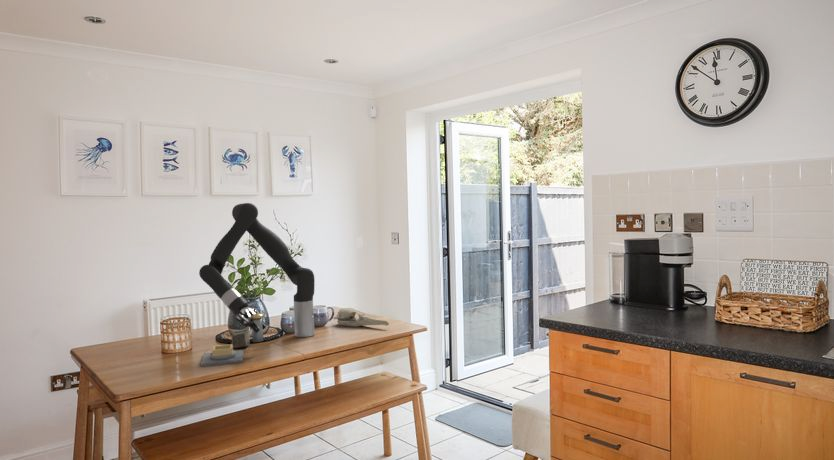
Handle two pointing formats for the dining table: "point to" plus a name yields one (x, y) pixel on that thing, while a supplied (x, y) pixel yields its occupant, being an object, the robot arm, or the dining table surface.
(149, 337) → the dining table surface
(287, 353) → the dining table surface
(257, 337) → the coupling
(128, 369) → the dining table surface
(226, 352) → the grey tray with block
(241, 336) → the rock
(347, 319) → the bird skull
